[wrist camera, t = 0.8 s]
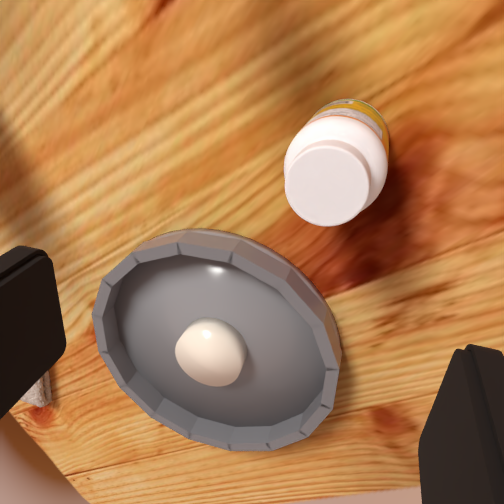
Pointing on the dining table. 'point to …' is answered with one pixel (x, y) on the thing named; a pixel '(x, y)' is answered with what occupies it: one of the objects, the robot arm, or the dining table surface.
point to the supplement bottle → (337, 163)
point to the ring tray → (219, 339)
